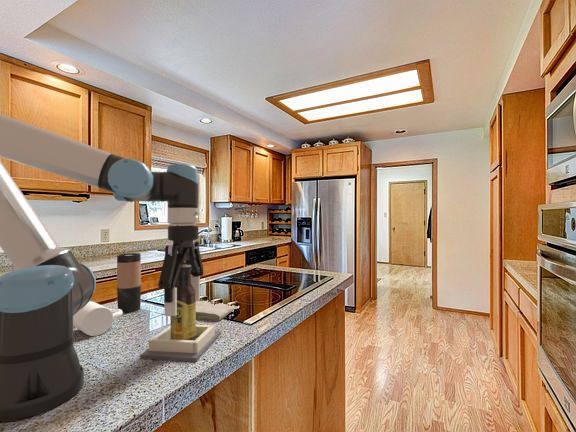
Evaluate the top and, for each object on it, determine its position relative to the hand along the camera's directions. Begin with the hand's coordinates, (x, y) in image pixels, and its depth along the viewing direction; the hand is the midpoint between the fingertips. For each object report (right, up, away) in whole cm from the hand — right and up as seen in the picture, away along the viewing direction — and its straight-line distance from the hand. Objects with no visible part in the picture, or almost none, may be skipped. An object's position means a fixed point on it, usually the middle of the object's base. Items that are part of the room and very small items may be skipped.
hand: (183, 307), depth 78 cm
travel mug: (-30, -10, +30) cm, 44 cm away
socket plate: (0, -10, 0) cm, 10 cm away
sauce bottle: (0, -9, 0) cm, 9 cm away
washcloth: (-1, -11, +26) cm, 28 cm away
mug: (-29, -10, +12) cm, 33 cm away
